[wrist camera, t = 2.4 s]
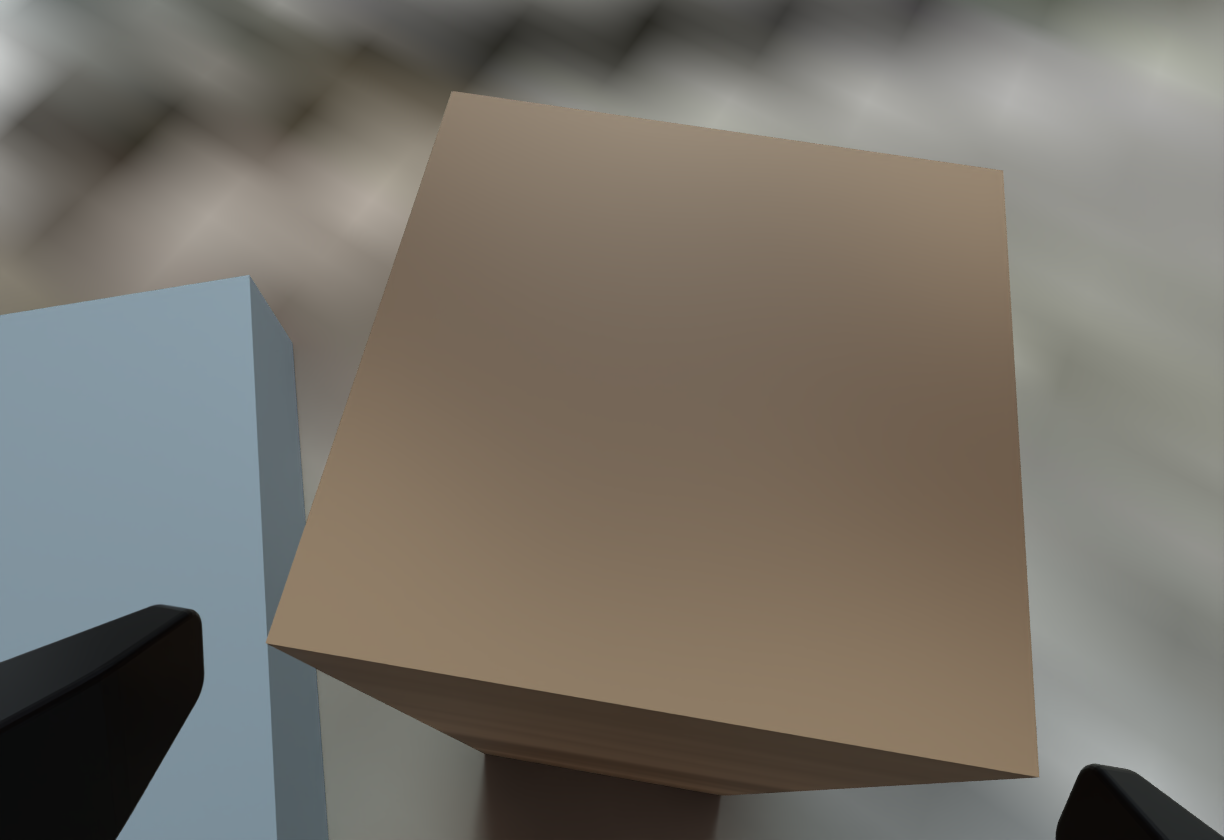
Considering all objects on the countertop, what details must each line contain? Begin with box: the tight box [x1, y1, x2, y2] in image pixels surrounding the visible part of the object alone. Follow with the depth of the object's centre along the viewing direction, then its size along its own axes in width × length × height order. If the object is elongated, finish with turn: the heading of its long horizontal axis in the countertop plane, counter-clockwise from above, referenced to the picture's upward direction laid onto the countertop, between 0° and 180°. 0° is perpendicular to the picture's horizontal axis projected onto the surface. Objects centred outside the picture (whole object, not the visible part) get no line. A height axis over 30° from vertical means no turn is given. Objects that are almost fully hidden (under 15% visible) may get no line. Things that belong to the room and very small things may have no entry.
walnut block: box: [266, 91, 1039, 796], centre depth 12 cm, size 5×5×13 cm
